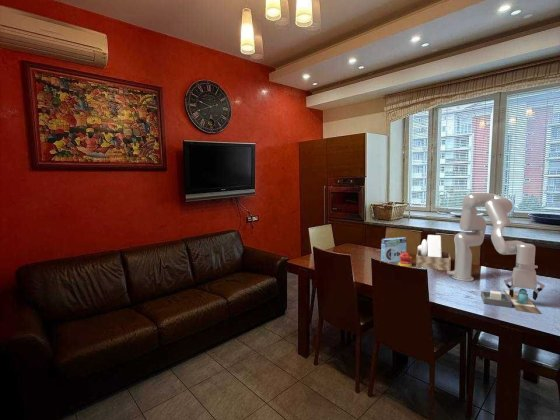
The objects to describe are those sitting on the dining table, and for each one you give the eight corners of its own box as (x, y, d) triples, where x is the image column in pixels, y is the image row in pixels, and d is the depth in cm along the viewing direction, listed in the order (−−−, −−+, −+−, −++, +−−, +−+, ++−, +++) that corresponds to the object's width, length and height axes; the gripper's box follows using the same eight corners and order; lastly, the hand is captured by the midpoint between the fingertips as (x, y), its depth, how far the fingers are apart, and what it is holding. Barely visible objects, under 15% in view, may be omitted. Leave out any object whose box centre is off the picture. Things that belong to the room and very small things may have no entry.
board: (516, 310, 153) (516, 309, 153) (503, 289, 181) (503, 289, 181) (541, 314, 148) (541, 313, 148) (524, 292, 177) (524, 292, 177)
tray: (483, 303, 162) (484, 298, 161) (480, 296, 172) (480, 291, 172) (511, 307, 156) (511, 302, 156) (506, 299, 167) (506, 294, 167)
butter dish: (441, 257, 223) (417, 255, 229) (438, 264, 238) (416, 262, 244) (440, 235, 230) (418, 234, 236) (438, 243, 245) (417, 242, 251)
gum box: (402, 265, 236) (402, 236, 234) (406, 267, 231) (407, 238, 229) (380, 267, 231) (381, 238, 229) (384, 269, 226) (385, 239, 224)
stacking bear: (411, 281, 199) (412, 255, 197) (395, 279, 204) (396, 253, 202) (414, 276, 208) (414, 251, 206) (398, 274, 213) (399, 250, 212)
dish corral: (415, 267, 231) (416, 255, 230) (417, 260, 251) (417, 249, 250) (450, 270, 220) (450, 258, 219) (448, 263, 241) (449, 252, 240)
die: (490, 301, 164) (491, 293, 164) (489, 298, 168) (490, 290, 168) (501, 302, 162) (502, 294, 161) (500, 299, 166) (500, 291, 165)
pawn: (517, 303, 161) (518, 288, 160) (517, 300, 164) (518, 286, 163) (527, 305, 158) (528, 290, 158) (527, 302, 162) (528, 288, 161)
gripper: (543, 266, 159) (541, 298, 160) (503, 263, 167) (501, 293, 168) (548, 270, 152) (546, 303, 154) (506, 266, 160) (504, 297, 161)
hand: (522, 297), depth 161 cm, fingers open, 9 cm apart
